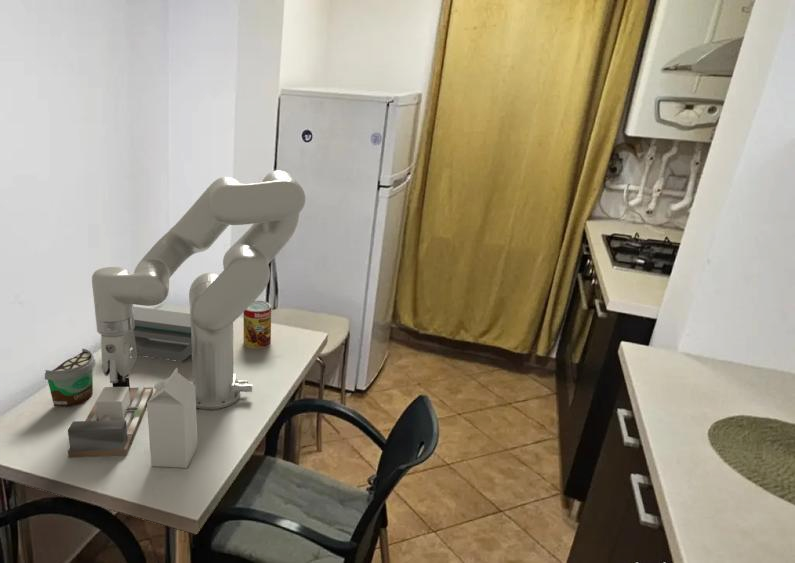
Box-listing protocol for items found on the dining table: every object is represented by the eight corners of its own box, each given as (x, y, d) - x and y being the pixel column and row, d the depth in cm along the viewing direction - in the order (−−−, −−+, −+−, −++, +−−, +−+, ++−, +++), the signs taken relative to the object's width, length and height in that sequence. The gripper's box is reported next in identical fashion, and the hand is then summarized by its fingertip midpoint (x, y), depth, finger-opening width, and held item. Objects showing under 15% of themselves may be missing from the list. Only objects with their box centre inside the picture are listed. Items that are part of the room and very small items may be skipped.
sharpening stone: (216, 352, 159) (216, 317, 155) (205, 365, 151) (204, 328, 148) (132, 340, 160) (130, 306, 157) (117, 353, 153) (113, 316, 149)
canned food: (261, 351, 162) (262, 313, 158) (238, 345, 164) (237, 307, 160) (275, 340, 169) (276, 304, 165) (252, 334, 171) (252, 298, 167)
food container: (72, 415, 126) (68, 376, 122) (49, 409, 127) (43, 371, 123) (110, 388, 137) (106, 351, 134) (88, 383, 138) (84, 347, 135)
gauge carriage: (107, 404, 127) (105, 385, 126) (141, 404, 129) (140, 385, 127) (98, 421, 121) (96, 401, 120) (134, 420, 123) (133, 401, 121)
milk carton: (197, 446, 119) (194, 368, 113) (186, 468, 113) (183, 387, 106) (163, 445, 119) (159, 366, 112) (151, 466, 112) (145, 384, 106)
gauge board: (104, 393, 135) (102, 369, 132) (153, 392, 137) (151, 369, 135) (68, 457, 113) (64, 430, 110) (127, 455, 115) (124, 428, 113)
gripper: (124, 337, 117) (130, 412, 124) (142, 309, 131) (147, 377, 137) (85, 337, 116) (94, 413, 122) (107, 309, 129) (114, 378, 136)
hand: (122, 394), depth 130 cm, fingers closed
